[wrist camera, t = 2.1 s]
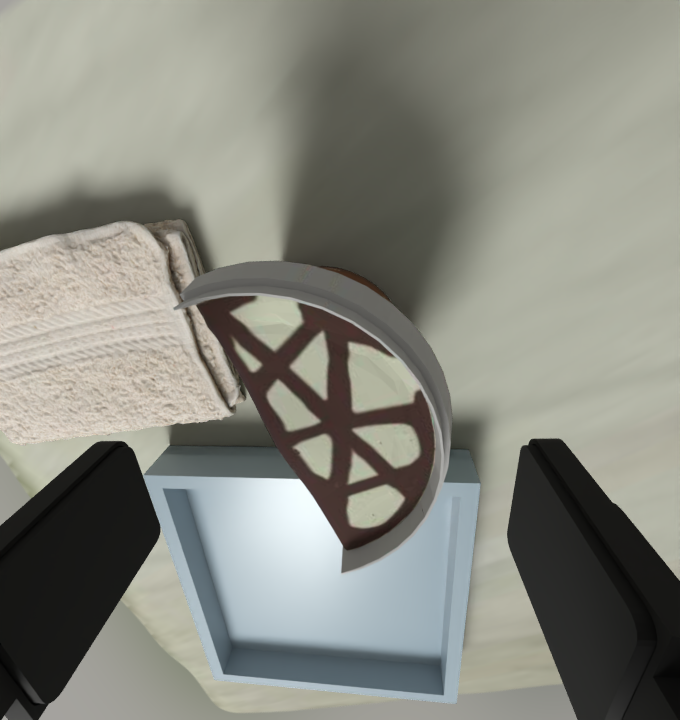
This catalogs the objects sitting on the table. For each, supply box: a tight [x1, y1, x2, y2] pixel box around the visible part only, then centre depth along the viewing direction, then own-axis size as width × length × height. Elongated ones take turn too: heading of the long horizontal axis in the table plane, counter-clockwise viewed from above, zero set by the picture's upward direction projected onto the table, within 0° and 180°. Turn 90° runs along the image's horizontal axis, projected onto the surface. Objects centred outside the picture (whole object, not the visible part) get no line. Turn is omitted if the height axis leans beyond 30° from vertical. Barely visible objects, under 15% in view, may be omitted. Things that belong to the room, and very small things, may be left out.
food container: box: [173, 261, 452, 575], centre depth 16 cm, size 12×6×10 cm, turn 25°
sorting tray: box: [143, 446, 481, 704], centre depth 27 cm, size 20×22×3 cm
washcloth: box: [0, 219, 246, 446], centre depth 21 cm, size 12×18×3 cm, turn 104°
